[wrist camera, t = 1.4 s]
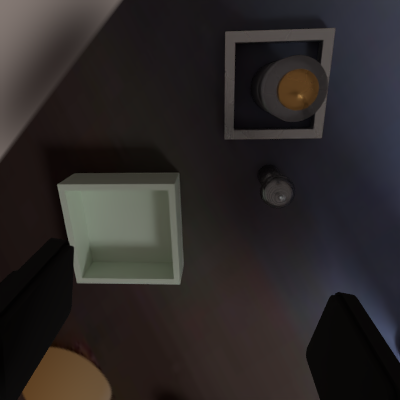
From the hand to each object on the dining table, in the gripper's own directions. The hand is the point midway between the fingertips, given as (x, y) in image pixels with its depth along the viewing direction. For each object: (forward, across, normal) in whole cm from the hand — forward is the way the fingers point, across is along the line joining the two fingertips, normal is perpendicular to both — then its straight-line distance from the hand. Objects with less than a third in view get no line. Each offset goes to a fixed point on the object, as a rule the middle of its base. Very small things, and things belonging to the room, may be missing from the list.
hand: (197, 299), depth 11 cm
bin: (+20, +6, +8) cm, 22 cm away
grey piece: (+20, -5, -5) cm, 21 cm away
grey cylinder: (+20, -4, -8) cm, 22 cm away
